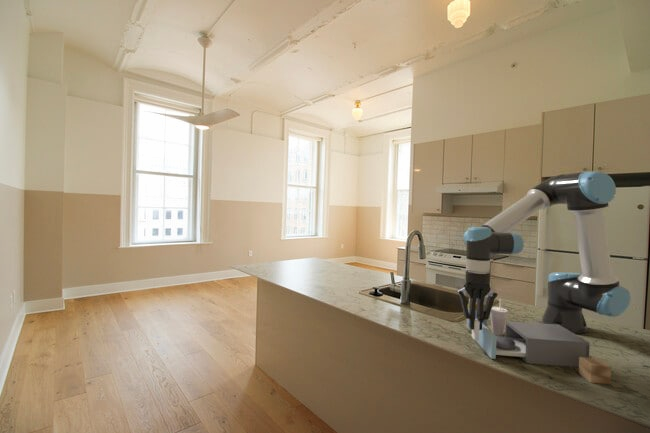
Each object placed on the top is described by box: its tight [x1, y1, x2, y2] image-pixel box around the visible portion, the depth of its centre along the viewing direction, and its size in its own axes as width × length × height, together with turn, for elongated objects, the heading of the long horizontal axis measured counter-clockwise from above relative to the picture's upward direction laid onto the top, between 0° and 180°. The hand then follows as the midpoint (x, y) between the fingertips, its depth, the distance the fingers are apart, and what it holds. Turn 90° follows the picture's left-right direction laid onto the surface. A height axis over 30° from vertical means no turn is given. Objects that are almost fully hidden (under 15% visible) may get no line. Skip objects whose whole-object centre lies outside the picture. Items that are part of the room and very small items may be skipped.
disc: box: [496, 335, 515, 350], centre depth 105 cm, size 8×8×2 cm
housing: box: [504, 320, 591, 368], centre depth 103 cm, size 18×15×8 cm
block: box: [577, 357, 612, 385], centre depth 89 cm, size 5×5×5 cm
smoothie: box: [490, 298, 509, 336], centre depth 120 cm, size 6×6×14 cm
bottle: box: [466, 295, 488, 334], centre depth 121 cm, size 7×7×15 cm
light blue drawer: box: [474, 323, 526, 360], centre depth 105 cm, size 18×14×7 cm
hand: (475, 338), depth 106 cm, fingers closed
